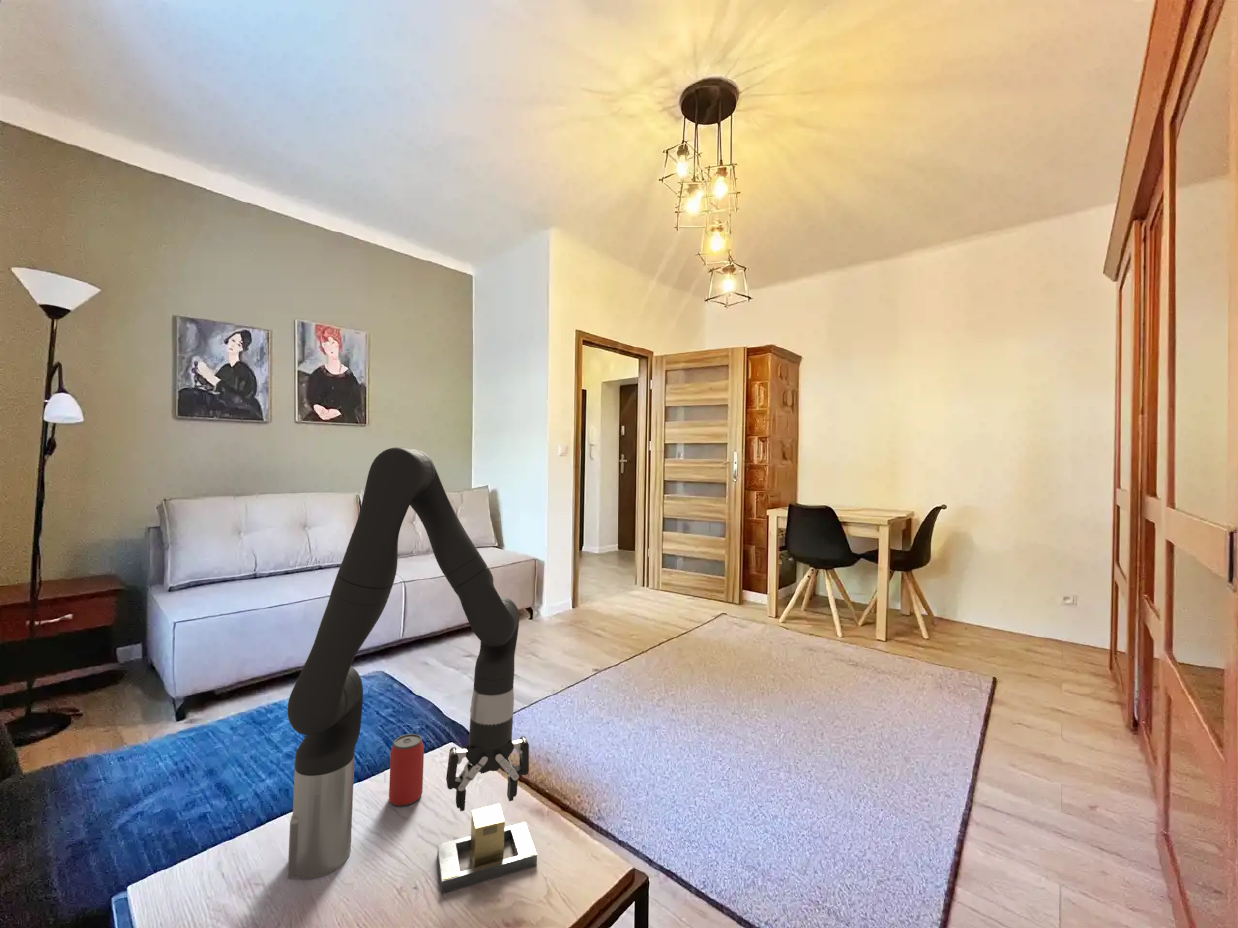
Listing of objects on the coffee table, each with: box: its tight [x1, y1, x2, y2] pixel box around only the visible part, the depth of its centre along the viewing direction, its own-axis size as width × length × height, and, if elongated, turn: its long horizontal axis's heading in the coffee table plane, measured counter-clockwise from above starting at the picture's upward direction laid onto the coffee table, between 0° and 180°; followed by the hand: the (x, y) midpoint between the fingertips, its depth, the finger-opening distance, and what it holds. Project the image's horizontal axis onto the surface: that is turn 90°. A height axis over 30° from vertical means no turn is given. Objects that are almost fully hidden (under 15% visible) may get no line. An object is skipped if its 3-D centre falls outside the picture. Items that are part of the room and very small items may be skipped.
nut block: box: [469, 803, 506, 868], centre depth 90 cm, size 5×5×8 cm
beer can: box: [388, 733, 425, 807], centre depth 107 cm, size 7×7×12 cm
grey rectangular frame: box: [436, 821, 538, 894], centre depth 90 cm, size 16×9×2 cm, turn 114°
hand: (486, 803), depth 91 cm, fingers open, 8 cm apart
